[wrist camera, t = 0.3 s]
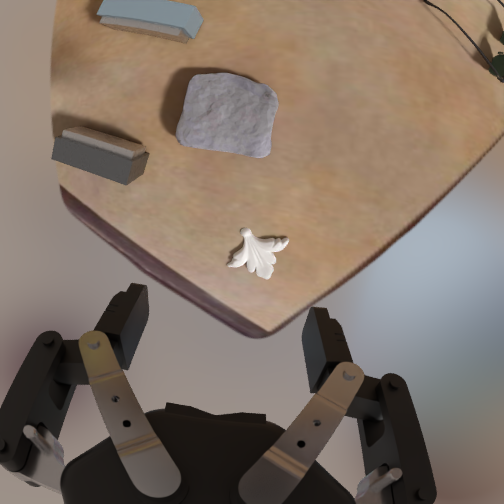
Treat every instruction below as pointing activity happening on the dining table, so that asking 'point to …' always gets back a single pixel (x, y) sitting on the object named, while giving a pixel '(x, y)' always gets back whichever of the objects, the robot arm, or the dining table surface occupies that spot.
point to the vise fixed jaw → (101, 154)
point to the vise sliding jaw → (152, 18)
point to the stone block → (228, 115)
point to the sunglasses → (500, 64)
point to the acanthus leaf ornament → (258, 253)
